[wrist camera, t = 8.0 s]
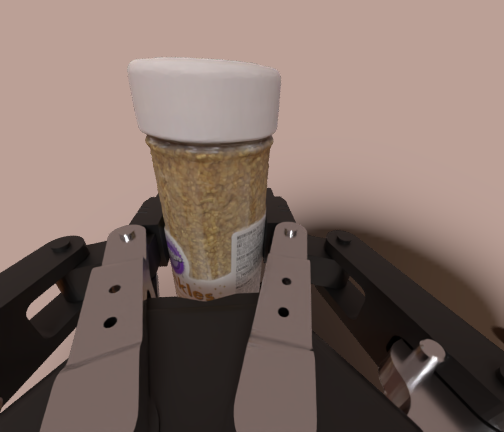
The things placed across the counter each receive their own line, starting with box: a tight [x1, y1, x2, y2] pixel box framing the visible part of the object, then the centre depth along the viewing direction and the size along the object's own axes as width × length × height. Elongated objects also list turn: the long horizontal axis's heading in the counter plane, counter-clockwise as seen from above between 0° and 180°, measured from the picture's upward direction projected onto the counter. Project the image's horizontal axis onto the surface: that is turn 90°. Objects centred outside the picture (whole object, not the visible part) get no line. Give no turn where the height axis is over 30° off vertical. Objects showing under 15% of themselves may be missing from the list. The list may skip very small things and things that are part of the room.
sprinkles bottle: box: [127, 57, 281, 301], centre depth 10 cm, size 5×5×14 cm
